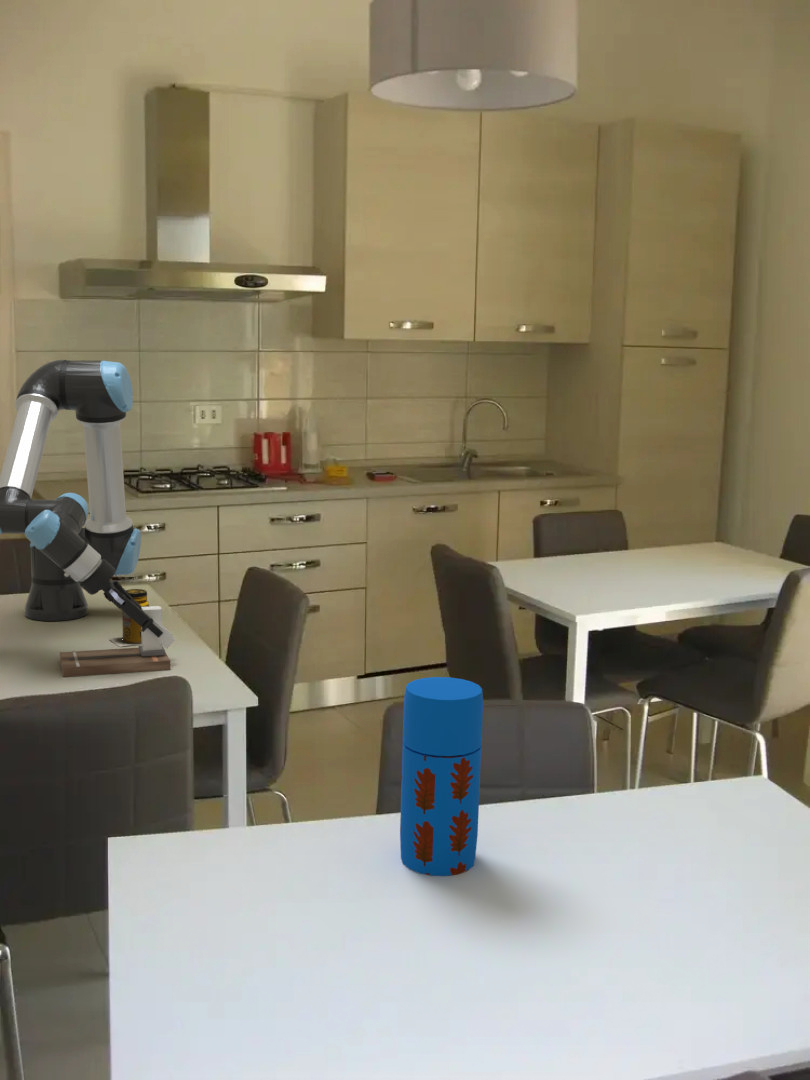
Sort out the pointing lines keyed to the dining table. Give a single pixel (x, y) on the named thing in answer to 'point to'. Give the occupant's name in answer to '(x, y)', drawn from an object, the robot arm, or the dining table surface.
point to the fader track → (110, 662)
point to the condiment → (132, 621)
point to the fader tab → (148, 641)
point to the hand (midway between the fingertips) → (169, 641)
